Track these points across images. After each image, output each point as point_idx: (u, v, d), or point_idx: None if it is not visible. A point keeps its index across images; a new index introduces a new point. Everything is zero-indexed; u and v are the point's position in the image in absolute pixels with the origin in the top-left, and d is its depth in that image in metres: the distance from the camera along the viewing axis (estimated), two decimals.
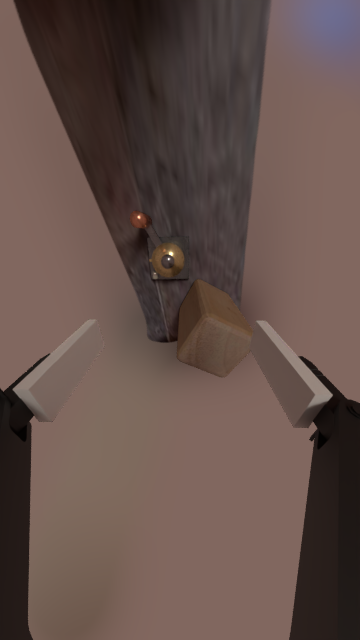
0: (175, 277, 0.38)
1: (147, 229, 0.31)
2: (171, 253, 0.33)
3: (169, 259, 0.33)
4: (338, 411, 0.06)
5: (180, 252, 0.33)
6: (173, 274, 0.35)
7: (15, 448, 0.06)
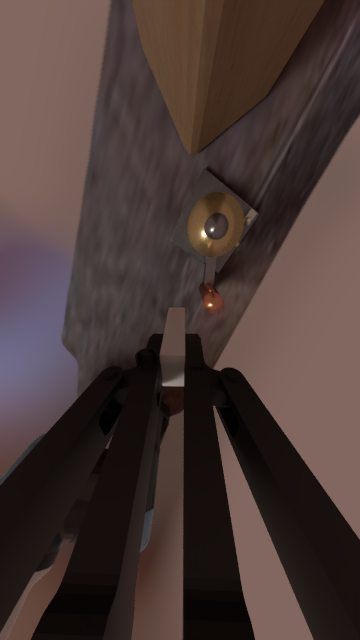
0: (223, 188, 0.20)
1: (211, 282, 0.23)
2: (203, 235, 0.20)
3: (212, 229, 0.19)
4: (184, 372, 0.08)
5: (190, 227, 0.20)
6: (223, 197, 0.18)
7: (155, 412, 0.07)
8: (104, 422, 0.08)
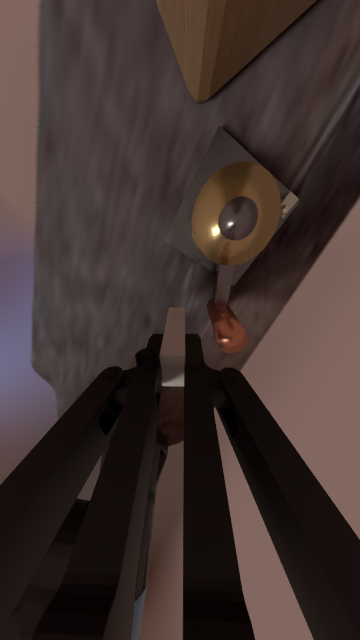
0: (247, 160, 0.13)
1: (224, 300, 0.16)
2: (215, 232, 0.13)
3: (231, 223, 0.12)
4: (184, 372, 0.08)
5: (195, 221, 0.13)
6: (250, 170, 0.11)
7: (155, 412, 0.07)
8: (104, 422, 0.08)
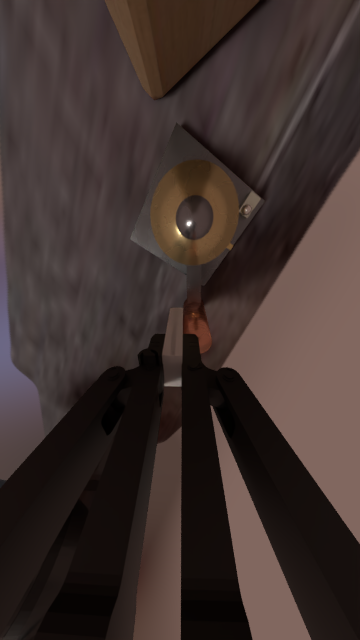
0: (208, 158, 0.12)
1: (197, 300, 0.16)
2: (176, 233, 0.13)
3: (187, 223, 0.12)
4: (182, 372, 0.08)
5: (154, 223, 0.13)
6: (201, 168, 0.11)
7: (157, 412, 0.07)
8: (106, 422, 0.08)
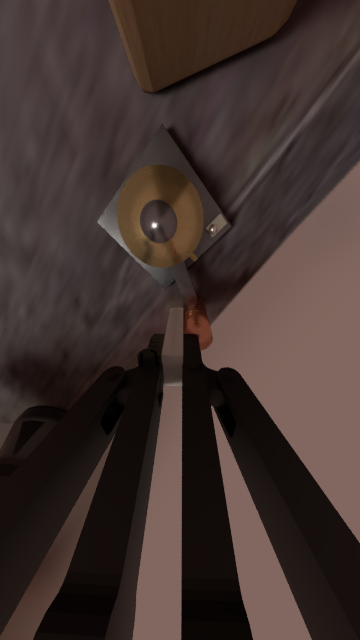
0: (187, 169, 0.13)
1: (192, 296, 0.16)
2: (149, 241, 0.13)
3: (153, 229, 0.12)
4: (182, 372, 0.08)
5: (127, 240, 0.13)
6: (148, 174, 0.11)
7: (156, 412, 0.07)
8: (106, 422, 0.08)
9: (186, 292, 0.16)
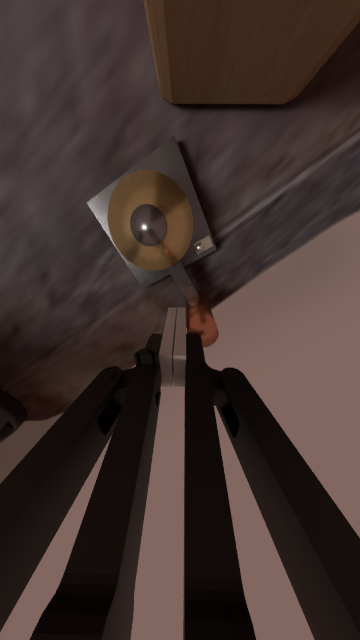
0: (188, 185, 0.13)
1: (193, 294, 0.16)
2: (143, 246, 0.14)
3: (144, 234, 0.12)
4: (185, 372, 0.08)
5: (121, 249, 0.14)
6: (132, 181, 0.11)
7: (154, 412, 0.07)
8: (103, 422, 0.08)
9: (187, 290, 0.16)
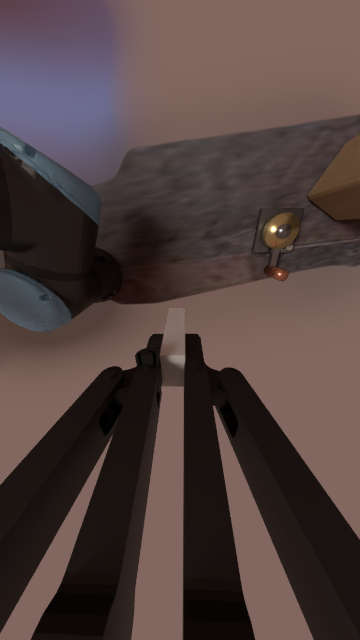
0: None
1: (274, 264, 0.38)
2: (274, 236, 0.35)
3: (281, 233, 0.34)
4: (184, 372, 0.08)
5: (267, 232, 0.35)
6: (288, 215, 0.33)
7: (155, 412, 0.07)
8: (104, 422, 0.08)
9: (273, 261, 0.38)
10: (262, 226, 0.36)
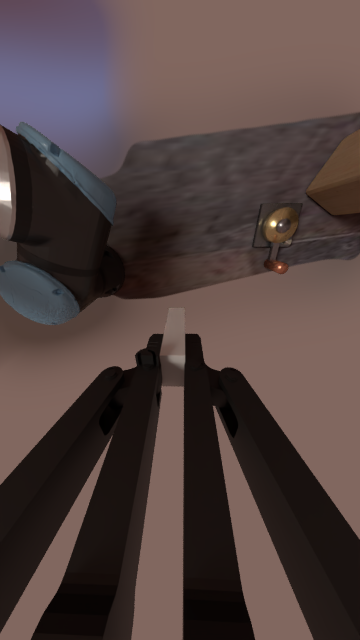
0: None
1: (274, 258, 0.40)
2: (274, 230, 0.36)
3: (281, 227, 0.35)
4: (184, 372, 0.08)
5: (267, 226, 0.36)
6: (288, 210, 0.34)
7: (155, 412, 0.07)
8: (104, 422, 0.08)
9: (273, 255, 0.39)
10: (262, 221, 0.37)
